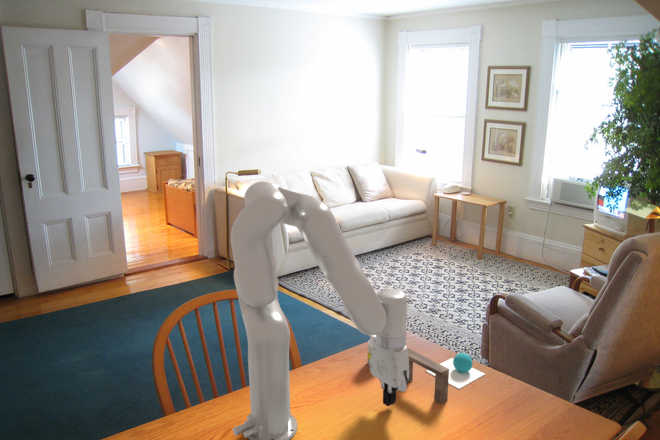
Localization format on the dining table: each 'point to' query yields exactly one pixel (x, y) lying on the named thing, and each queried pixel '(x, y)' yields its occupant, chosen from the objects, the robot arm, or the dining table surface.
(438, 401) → the bridge
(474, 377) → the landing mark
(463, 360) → the ball
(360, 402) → the dining table surface
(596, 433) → the dining table surface
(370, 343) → the supplement bottle
